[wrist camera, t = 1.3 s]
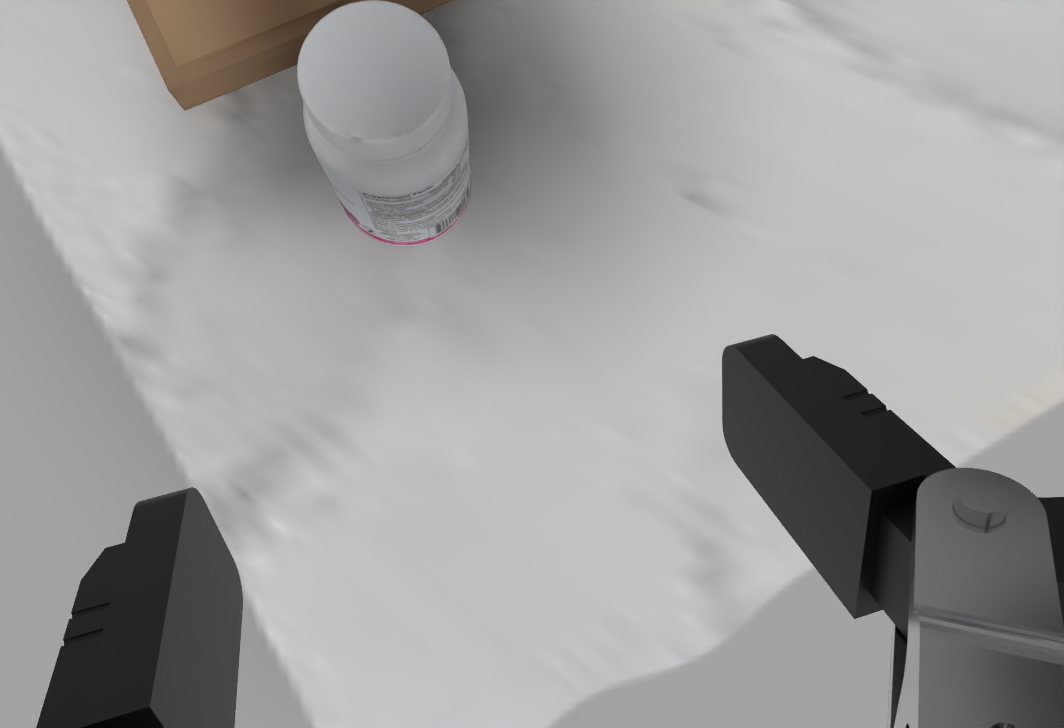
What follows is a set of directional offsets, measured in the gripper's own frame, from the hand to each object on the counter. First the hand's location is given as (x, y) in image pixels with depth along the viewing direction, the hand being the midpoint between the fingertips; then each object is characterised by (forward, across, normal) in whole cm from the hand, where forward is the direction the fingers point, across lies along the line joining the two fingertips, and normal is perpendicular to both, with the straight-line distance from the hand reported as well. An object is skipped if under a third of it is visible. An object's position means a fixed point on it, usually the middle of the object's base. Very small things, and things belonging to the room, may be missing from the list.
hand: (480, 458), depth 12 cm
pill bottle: (+19, -1, +2) cm, 19 cm away
